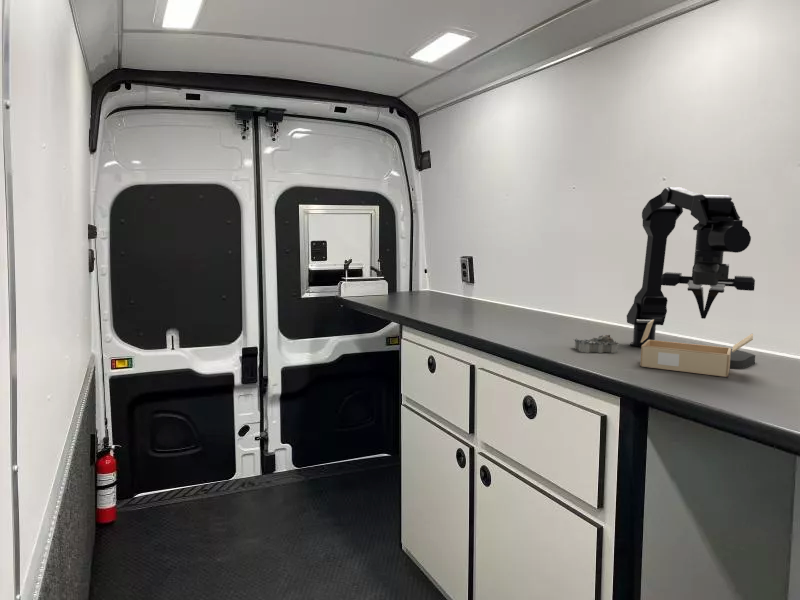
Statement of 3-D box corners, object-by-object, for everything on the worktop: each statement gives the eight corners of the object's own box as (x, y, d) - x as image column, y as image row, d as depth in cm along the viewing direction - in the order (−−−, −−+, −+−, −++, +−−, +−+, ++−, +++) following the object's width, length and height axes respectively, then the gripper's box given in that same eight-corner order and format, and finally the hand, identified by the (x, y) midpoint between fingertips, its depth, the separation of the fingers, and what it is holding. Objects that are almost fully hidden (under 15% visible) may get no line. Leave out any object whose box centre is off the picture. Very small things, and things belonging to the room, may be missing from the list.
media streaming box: (758, 363, 143) (759, 351, 143) (741, 371, 133) (742, 359, 133) (696, 354, 154) (697, 343, 153) (675, 361, 143) (676, 349, 143)
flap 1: (641, 342, 135) (648, 323, 134) (640, 342, 135) (647, 323, 134) (647, 337, 142) (654, 319, 141) (646, 337, 142) (652, 319, 141)
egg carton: (610, 349, 158) (611, 334, 158) (620, 354, 151) (621, 339, 150) (572, 348, 159) (572, 333, 158) (579, 353, 151) (580, 338, 151)
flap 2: (733, 345, 133) (752, 333, 130) (734, 346, 133) (753, 334, 130) (731, 351, 126) (751, 338, 123) (732, 352, 125) (752, 339, 123)
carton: (647, 358, 144) (648, 339, 144) (729, 368, 135) (731, 347, 134) (639, 367, 135) (641, 346, 134) (727, 377, 125) (729, 355, 125)
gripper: (660, 250, 128) (655, 319, 130) (758, 253, 118) (751, 327, 120) (665, 248, 137) (660, 313, 139) (757, 251, 128) (750, 320, 130)
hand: (703, 318), depth 132 cm, fingers closed
